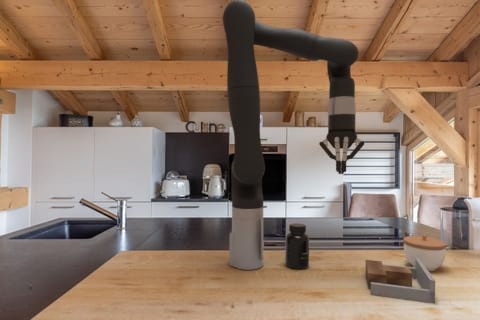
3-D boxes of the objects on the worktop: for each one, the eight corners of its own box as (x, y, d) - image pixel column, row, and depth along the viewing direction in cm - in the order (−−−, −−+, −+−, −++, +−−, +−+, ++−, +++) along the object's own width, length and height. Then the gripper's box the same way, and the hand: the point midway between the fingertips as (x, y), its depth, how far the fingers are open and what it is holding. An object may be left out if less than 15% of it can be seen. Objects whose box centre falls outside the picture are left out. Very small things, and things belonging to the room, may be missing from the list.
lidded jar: (405, 270, 87) (405, 237, 86) (401, 259, 96) (401, 229, 96) (450, 276, 83) (450, 241, 82) (441, 263, 92) (441, 232, 92)
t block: (368, 289, 75) (368, 273, 75) (365, 274, 84) (365, 259, 84) (415, 295, 72) (415, 278, 71) (406, 278, 81) (406, 263, 81)
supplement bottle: (309, 271, 86) (309, 228, 86) (284, 269, 88) (284, 227, 87) (308, 262, 93) (309, 222, 93) (286, 260, 94) (286, 221, 94)
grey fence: (370, 294, 72) (371, 273, 72) (366, 271, 86) (366, 253, 86) (434, 303, 68) (435, 280, 68) (419, 277, 82) (419, 258, 82)
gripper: (317, 113, 88) (316, 174, 88) (367, 111, 84) (366, 175, 84) (319, 116, 95) (318, 172, 95) (365, 114, 91) (364, 173, 91)
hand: (341, 173), depth 90 cm, fingers closed
